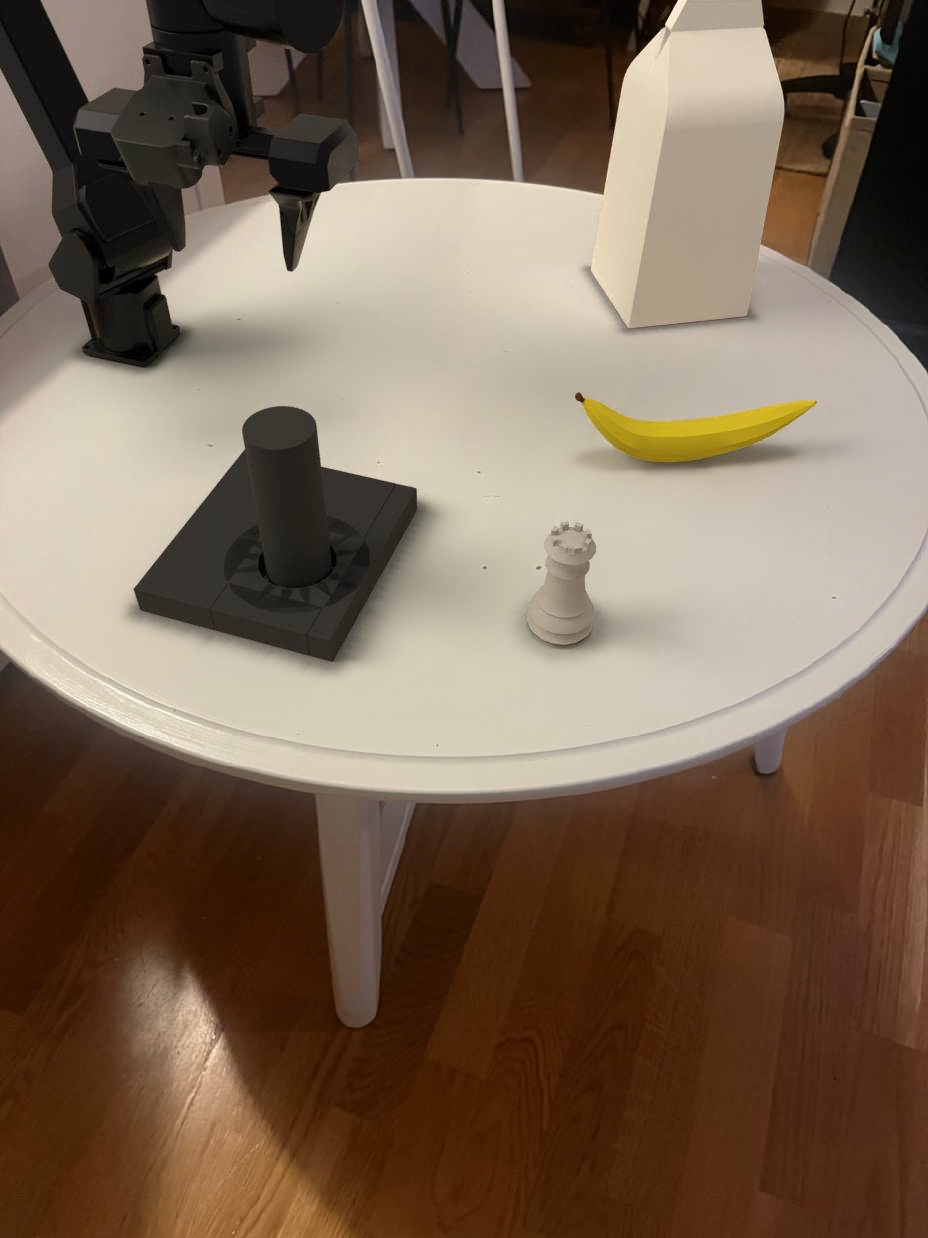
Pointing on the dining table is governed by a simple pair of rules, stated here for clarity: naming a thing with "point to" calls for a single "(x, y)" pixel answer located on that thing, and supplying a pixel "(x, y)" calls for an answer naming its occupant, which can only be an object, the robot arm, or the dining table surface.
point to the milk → (691, 168)
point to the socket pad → (234, 565)
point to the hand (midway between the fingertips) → (235, 259)
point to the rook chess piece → (564, 587)
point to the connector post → (288, 495)
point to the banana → (690, 431)
